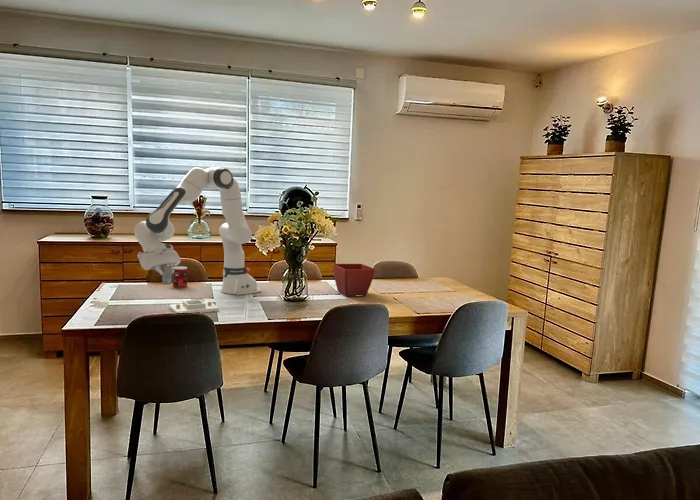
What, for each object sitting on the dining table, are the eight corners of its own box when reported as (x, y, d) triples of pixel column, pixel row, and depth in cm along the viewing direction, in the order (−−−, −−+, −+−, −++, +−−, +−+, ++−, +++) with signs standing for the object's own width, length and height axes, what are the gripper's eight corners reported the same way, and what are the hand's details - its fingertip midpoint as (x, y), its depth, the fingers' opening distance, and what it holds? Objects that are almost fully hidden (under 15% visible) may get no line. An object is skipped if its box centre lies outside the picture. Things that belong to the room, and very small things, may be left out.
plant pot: (359, 290, 303) (361, 263, 300) (373, 297, 286) (375, 268, 283) (330, 291, 294) (332, 263, 292) (344, 298, 277) (345, 269, 275)
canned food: (171, 285, 285) (171, 266, 284) (185, 284, 289) (185, 266, 288) (174, 288, 279) (174, 268, 277) (188, 287, 283) (188, 268, 281)
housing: (209, 304, 249) (210, 297, 248) (219, 310, 237) (219, 303, 237) (169, 307, 238) (169, 300, 237) (176, 315, 226) (176, 307, 226)
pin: (170, 282, 239) (170, 264, 238) (172, 284, 236) (172, 265, 234) (161, 282, 237) (161, 264, 236) (163, 284, 234) (163, 266, 232)
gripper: (138, 248, 229) (152, 272, 225) (174, 245, 246) (187, 266, 242) (132, 257, 232) (146, 280, 228) (168, 252, 249) (181, 274, 245)
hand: (167, 273), depth 235 cm, fingers closed on pin, 4 cm apart
